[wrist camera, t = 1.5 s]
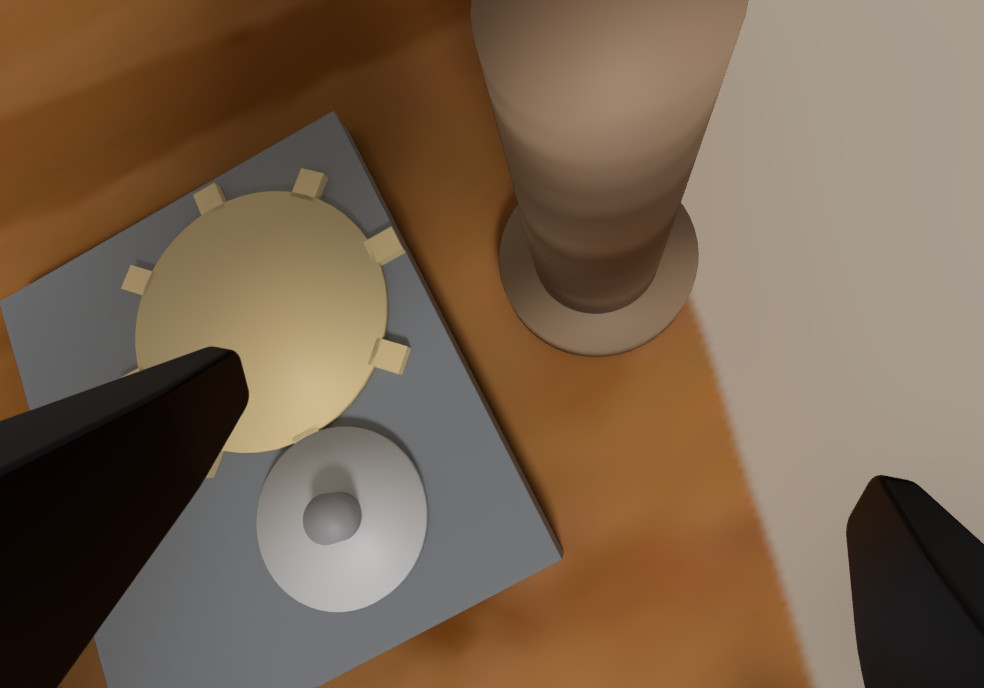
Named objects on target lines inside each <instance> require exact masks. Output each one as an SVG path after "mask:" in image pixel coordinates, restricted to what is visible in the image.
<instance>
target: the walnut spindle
mask: <svg viewBox="0 0 984 688" xmlns="http://www.w3.org/2000/svg"><path fill="white" fill-rule="evenodd" d="M747 5H748V0H471V27H472V33H473V38H474V42H475V45H476V49H477V53H478V56H479V60H480V64H481V68H482V71H483V75H484V79H485V82H486V86H487V90H488V94H489V97H490V101H491V105H492V108H493V112H494V116H495V120H496V123H497V127H498V131H499V134H500V138H501V142H502V146H503V149H504V153H505V157H506V160H507V164H508V168H509V172H510V175H511V179H512V183H513V187H514V190H515V194H516V198H517V201H518V205H517V206H516V208H515V209H514V211H513V212H512V214H511V216H510V218H509V220H508V221H507V224H506V226H505V229H504V231H503V235H502V239H501V243H500V251H499V269H500V275H501V280H502V284H503V287H504V290H505V292H506V295H507V297H508V299H509V301H510V303H511V305H512V307H513V309H514V311H515V313H516V314H517V316H518V317H519V319H520V320H521V321H522V323H523V324H524V325H525V326H526V327H527V329H529V330H530V331H531V332H532V333H533V334H534V335H535V336H536V337H538V338H539V339H541V340H542V341H544V342H545V343H547V344H548V345H550V346H552V347H554V348H556V349H559V350H562V351H564V352H567V353H571V354H575V355H580V356H590V357H602V356H612V355H617V354H622V353H625V352H628V351H631V350H634V349H636V348H638V347H640V346H643V345H644V344H646V343H648V342H649V341H651V340H653V339H654V338H655V337H657V336H658V335H659V334H660V333H662V332H663V331H664V330H665V329H666V328H667V327H668V326H669V325H670V324H671V322H672V321H673V320H674V319H675V317H676V316H677V314H678V313H679V312H680V310H681V308H682V307H683V305H684V303H685V301H686V299H687V298H688V296H689V294H690V292H691V290H692V287H693V284H694V281H695V278H696V273H697V267H698V254H699V253H698V242H697V237H696V233H695V229H694V226H693V224H692V221H691V219H690V217H689V215H688V213H687V211H686V210H685V208H684V206H683V205H682V204H681V200H682V197H683V194H684V191H685V189H686V186H687V183H688V180H689V177H690V174H691V171H692V168H693V166H694V163H695V160H696V157H697V154H698V151H699V148H700V145H701V142H702V140H703V137H704V134H705V131H706V128H707V125H708V122H709V119H710V116H711V114H712V111H713V108H714V105H715V102H716V99H717V96H718V93H719V91H720V88H721V85H722V82H723V79H724V76H725V73H726V70H727V67H728V64H729V62H730V59H731V56H732V53H733V50H734V47H735V44H736V41H737V39H738V36H739V33H740V30H741V27H742V24H743V21H744V18H745V15H746V10H747Z"/></svg>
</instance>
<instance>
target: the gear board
mask: <svg viewBox="0 0 984 688" xmlns="http://www.w3.org/2000/svg"><path fill="white" fill-rule="evenodd" d="M0 306H1V309H2V313H3V317H4V320H5V324H6V327H7V331H8V334H9V338H10V341H11V345H12V349H13V352H14V356H15V359H16V363H17V366H18V370H19V373H20V377H21V381H22V384H23V388H24V391H25V395H26V398H27V402H28V405H29V409H30V410H33V409H35V408H38V407H41V406H44V405H47V404H49V403H52V402H55V401H58V400H61V399H63V398H66V397H69V396H72V395H74V394H77V393H80V392H83V391H86V390H88V389H91V388H94V387H97V386H100V385H102V384H105V383H108V382H111V381H113V380H116V379H119V378H122V377H125V376H127V375H130V374H133V373H136V372H139V371H141V370H144V369H147V368H150V367H152V366H155V365H158V364H161V363H164V362H166V361H169V360H172V359H175V358H178V357H180V356H183V355H186V354H189V353H191V352H194V351H197V350H200V349H203V348H205V347H209V346H215V347H221V348H226V349H231V350H234V351H235V352H237V354H238V355H239V356H240V359H241V362H242V366H243V370H244V373H245V377H246V381H247V385H248V389H249V401H248V404H247V407H246V409H245V410H244V412H243V414H242V416H241V417H240V419H239V421H238V423H237V424H236V426H235V428H234V430H233V431H232V433H231V435H230V437H229V438H228V440H227V442H226V444H225V445H224V447H223V449H222V451H221V452H220V454H219V456H218V458H217V459H216V461H215V463H214V465H213V466H212V468H211V470H210V472H209V473H208V475H207V477H206V478H205V480H204V481H203V483H202V485H201V486H200V488H199V489H198V491H197V492H196V494H195V495H194V497H193V498H192V500H191V501H190V503H189V504H188V505H187V507H186V508H185V510H184V511H183V512H182V514H181V515H180V517H179V518H178V519H177V521H176V522H175V524H174V525H173V526H172V528H171V529H170V531H169V532H168V533H167V535H166V536H165V538H164V539H163V540H162V542H161V543H160V545H159V546H158V547H157V549H156V550H155V552H154V553H153V554H152V556H151V557H150V559H149V560H148V561H147V563H146V564H145V566H144V567H143V568H142V570H141V571H140V573H139V574H138V575H137V577H136V578H135V580H134V581H133V582H132V584H131V585H130V587H129V588H128V589H127V591H126V592H125V594H124V595H123V596H122V598H121V599H120V601H119V602H118V603H117V605H116V606H115V608H114V609H113V610H112V612H111V613H110V615H109V616H108V617H107V619H106V620H105V622H104V623H103V624H102V626H101V627H100V628H99V630H98V631H97V633H96V634H95V635H94V640H95V644H96V647H97V651H98V654H99V658H100V661H101V665H102V669H103V672H104V676H105V679H106V683H107V686H108V688H316V687H318V686H320V685H322V684H324V683H326V682H328V681H330V680H332V679H334V678H336V677H338V676H339V675H341V674H343V673H345V672H347V671H349V670H351V669H353V668H355V667H357V666H359V665H361V664H362V663H364V662H366V661H368V660H370V659H372V658H374V657H376V656H378V655H380V654H382V653H384V652H385V651H387V650H389V649H391V648H393V647H395V646H397V645H399V644H401V643H403V642H405V641H407V640H408V639H410V638H412V637H414V636H416V635H418V634H420V633H422V632H424V631H426V630H428V629H430V628H431V627H433V626H435V625H437V624H439V623H441V622H443V621H445V620H447V619H449V618H451V617H453V616H454V615H456V614H458V613H460V612H462V611H464V610H466V609H468V608H470V607H472V606H474V605H476V604H477V603H479V602H481V601H483V600H485V599H487V598H489V597H491V596H493V595H495V594H497V593H499V592H500V591H502V590H504V589H506V588H508V587H510V586H512V585H514V584H516V583H518V582H520V581H522V580H523V579H525V578H527V577H529V576H531V575H533V574H535V573H537V572H539V571H541V570H543V569H545V568H546V567H548V566H550V565H552V564H554V563H556V562H558V561H560V560H562V558H563V554H564V552H563V550H562V548H561V546H560V544H559V542H558V540H557V538H556V536H555V534H554V532H553V530H552V529H551V527H550V525H549V523H548V521H547V519H546V517H545V515H544V513H543V511H542V509H541V507H540V505H539V503H538V501H537V499H536V497H535V495H534V493H533V491H532V489H531V487H530V485H529V483H528V482H527V480H526V478H525V476H524V474H523V472H522V470H521V468H520V466H519V464H518V462H517V460H516V458H515V456H514V454H513V452H512V450H511V448H510V446H509V444H508V442H507V440H506V438H505V436H504V435H503V433H502V431H501V429H500V427H499V425H498V423H497V421H496V419H495V417H494V415H493V413H492V411H491V409H490V407H489V405H488V403H487V401H486V399H485V397H484V395H483V393H482V391H481V389H480V388H479V386H478V384H477V382H476V380H475V378H474V376H473V374H472V372H471V370H470V368H469V366H468V364H467V362H466V360H465V358H464V356H463V354H462V352H461V350H460V348H459V346H458V344H457V342H456V341H455V339H454V337H453V335H452V333H451V331H450V329H449V327H448V325H447V323H446V321H445V319H444V317H443V315H442V313H441V311H440V309H439V307H438V305H437V303H436V301H435V299H434V297H433V295H432V294H431V292H430V290H429V288H428V286H427V284H426V282H425V280H424V278H423V276H422V274H421V272H420V270H419V268H418V266H417V264H416V262H415V260H414V258H413V256H412V254H411V252H410V250H409V248H408V247H407V245H406V243H405V241H404V239H403V237H402V235H401V233H400V231H399V229H398V227H397V225H396V223H395V221H394V219H393V217H392V215H391V213H390V211H389V209H388V207H387V205H386V203H385V201H384V200H383V198H382V196H381V194H380V192H379V190H378V188H377V186H376V184H375V182H374V180H373V178H372V176H371V174H370V172H369V170H368V168H367V166H366V164H365V162H364V160H363V158H362V156H361V154H360V152H359V151H358V149H357V147H356V145H355V143H354V141H353V139H352V137H351V135H350V133H349V131H348V130H347V128H346V127H345V125H344V124H343V123H342V121H341V120H340V118H339V117H338V116H337V114H336V113H335V111H332V112H330V113H329V114H327V115H325V116H323V117H322V118H320V119H318V120H316V121H315V122H313V123H311V124H309V125H308V126H306V127H304V128H302V129H301V130H299V131H297V132H295V133H294V134H292V135H290V136H288V137H287V138H285V139H283V140H281V141H280V142H278V143H276V144H274V145H273V146H271V147H269V148H267V149H266V150H264V151H262V152H260V153H259V154H257V155H255V156H253V157H252V158H250V159H248V160H246V161H245V162H243V163H241V164H239V165H238V166H236V167H234V168H232V169H231V170H229V171H227V172H225V173H224V174H222V175H220V176H218V177H217V178H215V179H213V180H211V181H210V182H208V183H206V184H204V185H203V186H201V187H199V188H197V189H196V190H194V191H192V192H190V193H189V194H187V195H185V196H183V197H182V198H180V199H178V200H176V201H175V202H173V203H171V204H169V205H168V206H166V207H164V208H162V209H161V210H159V211H157V212H155V213H154V214H152V215H150V216H149V217H147V218H145V219H143V220H142V221H140V222H138V223H136V224H135V225H133V226H131V227H129V228H128V229H126V230H124V231H122V232H121V233H119V234H117V235H115V236H114V237H112V238H110V239H108V240H107V241H105V242H103V243H101V244H100V245H98V246H96V247H94V248H93V249H91V250H89V251H87V252H86V253H84V254H82V255H80V256H79V257H77V258H75V259H73V260H72V261H70V262H68V263H66V264H65V265H63V266H61V267H59V268H58V269H56V270H54V271H52V272H51V273H49V274H47V275H45V276H44V277H42V278H40V279H38V280H37V281H35V282H33V283H31V284H30V285H28V286H26V287H24V288H23V289H21V290H19V291H17V292H16V293H14V294H12V295H10V296H9V297H7V298H5V299H3V300H2V301H0Z"/></svg>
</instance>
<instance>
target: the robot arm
mask: <svg viewBox="0 0 984 688" xmlns="http://www.w3.org/2000/svg"><path fill="white" fill-rule="evenodd" d="M248 401H249V389H248V385H247V381H246V377H245V373H244V370H243V366H242V362H241V359H240V356H239V355H238V354H237V352H235V351H234V350H231V349H226V348H221V347H215V346H209V347H205V348H203V349H200V350H197V351H194V352H191V353H189V354H186V355H183V356H180V357H178V358H175V359H172V360H169V361H166V362H164V363H161V364H158V365H155V366H152V367H150V368H147V369H144V370H141V371H139V372H136V373H133V374H130V375H127V376H125V377H122V378H119V379H116V380H113V381H111V382H108V383H105V384H102V385H100V386H97V387H94V388H91V389H88V390H86V391H83V392H80V393H77V394H74V395H72V396H69V397H66V398H63V399H61V400H58V401H55V402H52V403H49V404H47V405H44V406H41V407H38V408H35V409H33V410H30V411H27V412H24V413H22V414H19V415H16V416H13V417H10V418H8V419H5V420H2V421H0V688H57V687H58V686H59V684H60V683H61V682H62V680H63V679H64V677H65V676H66V675H67V673H68V672H69V670H70V669H71V668H72V666H73V665H74V663H75V662H76V661H77V659H78V658H79V656H80V655H81V654H82V652H83V651H84V649H85V648H86V647H87V645H88V644H89V642H90V641H91V640H92V638H93V637H94V635H95V634H96V633H97V631H98V630H99V628H100V627H101V626H102V624H103V623H104V622H105V620H106V619H107V617H108V616H109V615H110V613H111V612H112V610H113V609H114V608H115V606H116V605H117V603H118V602H119V601H120V599H121V598H122V596H123V595H124V594H125V592H126V591H127V589H128V588H129V587H130V585H131V584H132V582H133V581H134V580H135V578H136V577H137V575H138V574H139V573H140V571H141V570H142V568H143V567H144V566H145V564H146V563H147V561H148V560H149V559H150V557H151V556H152V554H153V553H154V552H155V550H156V549H157V547H158V546H159V545H160V543H161V542H162V540H163V539H164V538H165V536H166V535H167V533H168V532H169V531H170V529H171V528H172V526H173V525H174V524H175V522H176V521H177V519H178V518H179V517H180V515H181V514H182V512H183V511H184V510H185V508H186V507H187V505H188V504H189V503H190V501H191V500H192V498H193V497H194V495H195V494H196V492H197V491H198V489H199V488H200V486H201V485H202V483H203V481H204V480H205V478H206V477H207V475H208V473H209V472H210V470H211V468H212V466H213V465H214V463H215V461H216V459H217V458H218V456H219V454H220V452H221V451H222V449H223V447H224V445H225V444H226V442H227V440H228V438H229V437H230V435H231V433H232V431H233V430H234V428H235V426H236V424H237V423H238V421H239V419H240V417H241V416H242V414H243V412H244V410H245V409H246V407H247V404H248ZM846 537H847V548H848V558H849V569H850V580H851V590H852V601H853V611H854V623H855V633H856V641H857V649H858V655H859V660H860V665H861V671H862V676H863V680H864V685H865V688H984V544H983V543H982V542H981V541H980V540H979V539H977V538H976V537H975V536H974V535H973V534H972V533H971V532H970V531H969V530H968V529H966V528H965V527H964V526H963V525H962V524H961V523H960V522H959V521H958V520H956V519H955V518H954V517H953V516H952V515H951V514H950V513H949V512H948V511H947V510H945V509H944V508H943V507H942V506H941V505H940V504H939V503H938V502H936V501H935V500H934V499H933V498H932V497H931V496H930V495H928V493H927V492H925V491H924V490H923V489H922V488H921V487H920V486H919V485H917V484H916V483H914V482H912V481H909V480H905V479H900V478H895V477H889V476H884V475H879V476H875V477H874V478H872V479H871V481H870V482H869V483H868V485H867V486H866V489H865V490H864V492H863V494H862V495H861V497H860V499H859V501H858V502H857V504H856V506H855V508H854V509H853V511H852V513H851V515H850V517H849V519H848V523H847V531H846Z"/></svg>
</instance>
